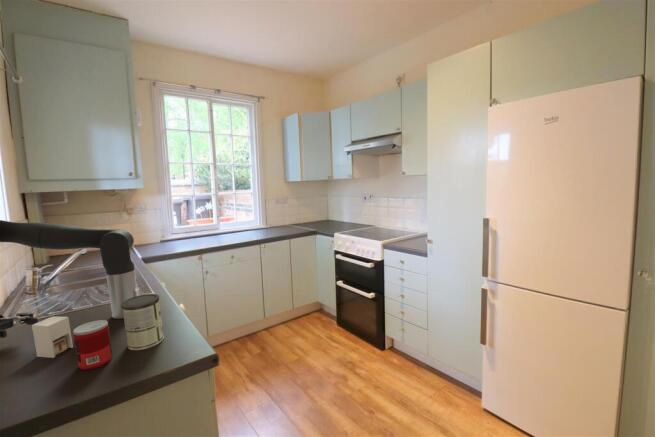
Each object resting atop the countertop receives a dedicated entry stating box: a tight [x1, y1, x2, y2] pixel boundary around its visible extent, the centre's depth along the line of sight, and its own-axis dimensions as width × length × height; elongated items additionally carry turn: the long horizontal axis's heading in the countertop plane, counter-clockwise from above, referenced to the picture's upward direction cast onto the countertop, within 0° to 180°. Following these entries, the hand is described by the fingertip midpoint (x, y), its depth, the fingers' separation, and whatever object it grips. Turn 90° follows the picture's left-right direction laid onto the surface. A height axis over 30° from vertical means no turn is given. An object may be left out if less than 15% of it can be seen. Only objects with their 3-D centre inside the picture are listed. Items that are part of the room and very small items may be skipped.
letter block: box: [53, 337, 68, 356], centre depth 97 cm, size 4×4×4 cm
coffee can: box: [121, 293, 165, 351], centre depth 99 cm, size 10×10×14 cm
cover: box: [31, 315, 74, 359], centre depth 96 cm, size 6×6×10 cm
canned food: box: [72, 319, 113, 371], centre depth 89 cm, size 8×8×11 cm
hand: (21, 327), depth 98 cm, fingers open, 8 cm apart
